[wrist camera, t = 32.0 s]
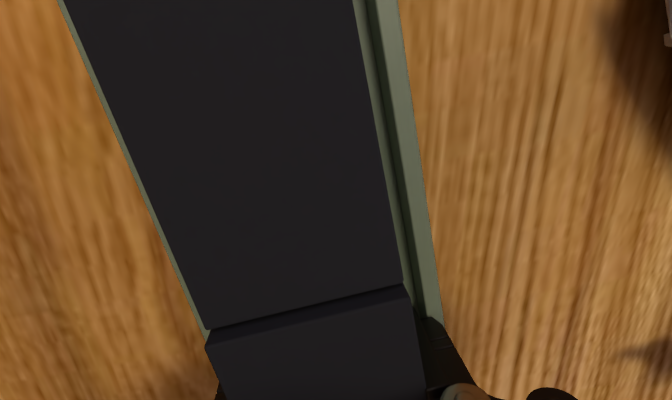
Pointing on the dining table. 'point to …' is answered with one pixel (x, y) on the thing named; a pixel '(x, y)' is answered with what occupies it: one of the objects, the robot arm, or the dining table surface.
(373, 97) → the backing tray
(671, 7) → the miniature car
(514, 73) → the dining table surface
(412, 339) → the pad
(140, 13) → the pad
